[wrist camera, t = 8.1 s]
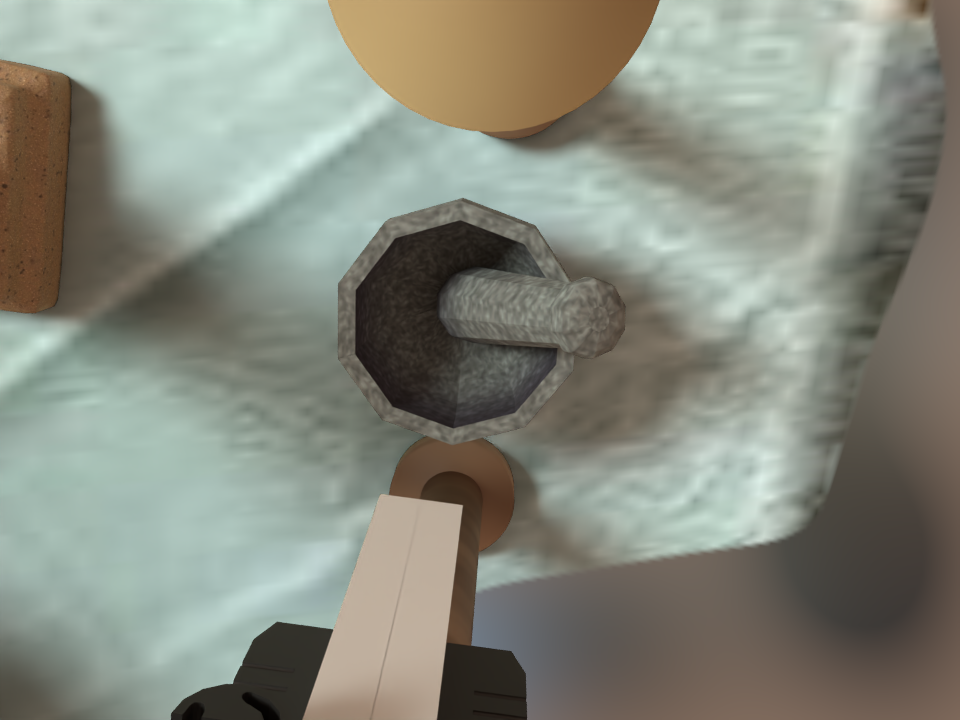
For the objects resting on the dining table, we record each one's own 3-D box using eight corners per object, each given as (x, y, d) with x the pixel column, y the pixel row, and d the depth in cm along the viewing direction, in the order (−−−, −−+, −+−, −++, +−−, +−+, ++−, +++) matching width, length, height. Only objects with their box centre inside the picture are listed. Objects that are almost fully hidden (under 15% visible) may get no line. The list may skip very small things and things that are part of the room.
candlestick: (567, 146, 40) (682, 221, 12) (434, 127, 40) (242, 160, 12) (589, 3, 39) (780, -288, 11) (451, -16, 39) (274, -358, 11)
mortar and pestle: (394, 412, 44) (351, 518, 32) (335, 225, 41) (265, 267, 30) (621, 354, 43) (661, 442, 31) (573, 158, 40) (596, 175, 29)
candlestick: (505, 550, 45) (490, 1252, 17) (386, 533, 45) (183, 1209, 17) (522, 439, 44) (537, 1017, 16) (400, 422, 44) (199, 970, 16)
